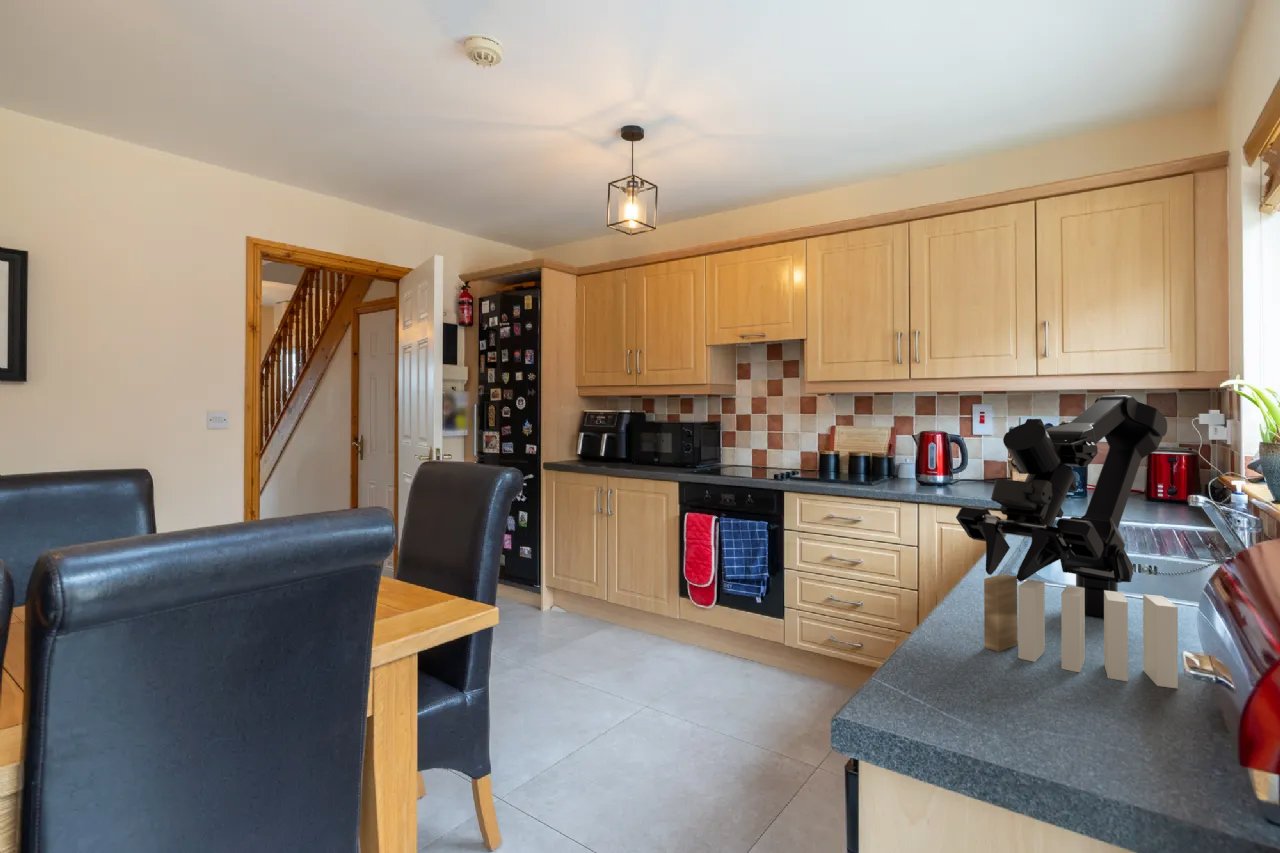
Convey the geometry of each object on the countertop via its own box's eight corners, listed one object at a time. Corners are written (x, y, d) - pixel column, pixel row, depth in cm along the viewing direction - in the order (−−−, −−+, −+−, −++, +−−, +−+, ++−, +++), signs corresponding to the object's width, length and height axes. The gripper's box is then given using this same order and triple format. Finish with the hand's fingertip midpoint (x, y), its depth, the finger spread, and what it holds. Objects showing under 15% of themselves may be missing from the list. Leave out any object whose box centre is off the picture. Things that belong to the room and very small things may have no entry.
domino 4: (1107, 678, 79) (1107, 600, 79) (1104, 664, 83) (1103, 590, 83) (1127, 681, 78) (1127, 602, 78) (1122, 667, 82) (1122, 592, 82)
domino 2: (1018, 657, 86) (1018, 586, 85) (1028, 648, 89) (1028, 579, 89) (1035, 662, 84) (1035, 588, 84) (1044, 651, 88) (1044, 581, 87)
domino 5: (1157, 685, 76) (1157, 605, 76) (1143, 670, 81) (1143, 594, 81) (1177, 688, 76) (1177, 607, 75) (1162, 672, 80) (1162, 595, 80)
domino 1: (984, 647, 90) (984, 578, 89) (1003, 640, 92) (1003, 573, 92) (998, 652, 88) (998, 581, 88) (1017, 644, 90) (1017, 576, 90)
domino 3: (1061, 668, 82) (1061, 593, 82) (1067, 657, 86) (1066, 585, 86) (1080, 672, 81) (1079, 596, 80) (1084, 660, 84) (1084, 587, 84)
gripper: (962, 456, 101) (920, 532, 95) (1093, 463, 85) (1052, 554, 79) (990, 500, 105) (951, 575, 99) (1120, 514, 89) (1082, 604, 83)
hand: (1003, 576), depth 90 cm, fingers open, 4 cm apart
